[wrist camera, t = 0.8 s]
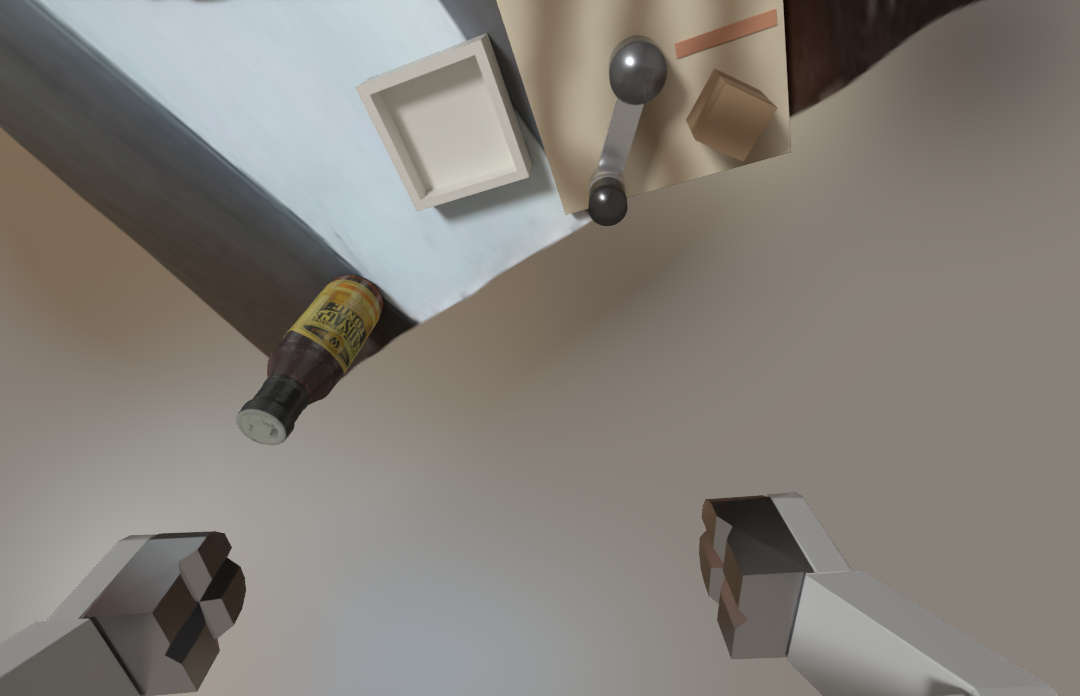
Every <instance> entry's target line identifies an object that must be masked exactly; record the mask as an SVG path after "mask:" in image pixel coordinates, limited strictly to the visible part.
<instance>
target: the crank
mask: <svg viewBox="0 0 1080 696" xmlns="http://www.w3.org/2000/svg"><path fill="white" fill-rule="evenodd" d="M666 78H667V64H666V60H665V58H664V56H663V54H662V52H661V50H660V48H659V46H658V45H657V44H656V43H655V42H654V41H653V40H652V39H650V38H648V37H646V36H642V35H635V36H631V37H628V38H626V39H624V40H623V41H621V42H620V43H619V44H618V45H617V46H616V47H615V49H614V50H613V52H612V54H611V57H610V60H609V80H610V85H611V88H612V91H613V92H614V94H615V95H616V98H615V101H614V105H613V109H612V113H611V116H610V120H609V124H608V127H607V131H606V135H605V138H604V142H603V146H602V150H601V153H600V157H599V161H598V164H597V168H596V170H595V171H594V172H593V173H592V175H591V177H590V180H589V207H588V209H589V214H590V216H591V218H592V219H593V220H594V221H595V222H596V223H598V224H600V225H603V226H611V225H615V224H617V223H618V222H620V221H621V220H622V219H623V218H624V217H625V214H626V212H627V198H626V189H625V180H624V176H623V171H624V168H625V165H626V161H627V158H628V155H629V151H630V148H631V145H632V142H633V138H634V135H635V132H636V128H637V125H638V122H639V119H640V115H641V112H642V109H643V105H644V104H645V103H647V102H649V101H651V100H652V99H654V98H655V97H656V96H657V95H658V94H659V93H660V91H661V90H662V88H663V86H664V84H665V81H666Z"/></svg>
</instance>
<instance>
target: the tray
mask: <svg viewBox="0 0 1080 696" xmlns="http://www.w3.org/2000/svg"><path fill="white" fill-rule="evenodd" d="M356 90H357V92H358V94H359V96H360V98H361V100H362V102H363V104H364V106H365V108H366V110H367V112H368V114H369V116H370V118H371V120H372V122H373V124H374V126H375V128H376V130H377V132H378V134H379V136H380V138H381V140H382V142H383V144H384V146H385V148H386V150H387V152H388V154H389V156H390V158H391V160H392V162H393V164H394V166H395V168H396V170H397V172H398V174H399V176H400V178H401V180H402V182H403V184H404V186H405V188H406V190H407V192H408V194H409V196H410V198H411V200H412V202H413V204H414V206H415V208H416V210H417V211H420V210H423V209H426V208H430V207H433V206H436V205H440V204H443V203H446V202H450V201H453V200H456V199H459V198H463V197H466V196H469V195H473V194H476V193H479V192H482V191H486V190H489V189H492V188H496V187H499V186H502V185H505V184H509V183H512V182H515V181H519V180H522V179H525V178H529V176H530V172H531V169H532V162H531V159H530V156H529V153H528V150H527V147H526V144H525V141H524V138H523V135H522V132H521V130H520V127H519V124H518V121H517V118H516V115H515V112H514V109H513V106H512V103H511V100H510V97H509V94H508V92H507V89H506V86H505V83H504V80H503V77H502V74H501V71H500V68H499V65H498V62H497V59H496V56H495V54H494V51H493V48H492V45H491V42H490V39H489V36H488V33H486V34H483V35H481V36H478V37H475V38H473V39H470V40H468V41H465V42H463V43H460V44H457V45H455V46H452V47H450V48H447V49H444V50H442V51H439V52H437V53H434V54H432V55H429V56H426V57H424V58H421V59H419V60H416V61H413V62H411V63H408V64H406V65H403V66H401V67H398V68H395V69H393V70H390V71H388V72H385V73H382V74H380V75H377V76H375V77H372V78H369V79H368V80H366V81H365V82H363V83H362V84H360V85H359V86H357V87H356Z"/></svg>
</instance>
